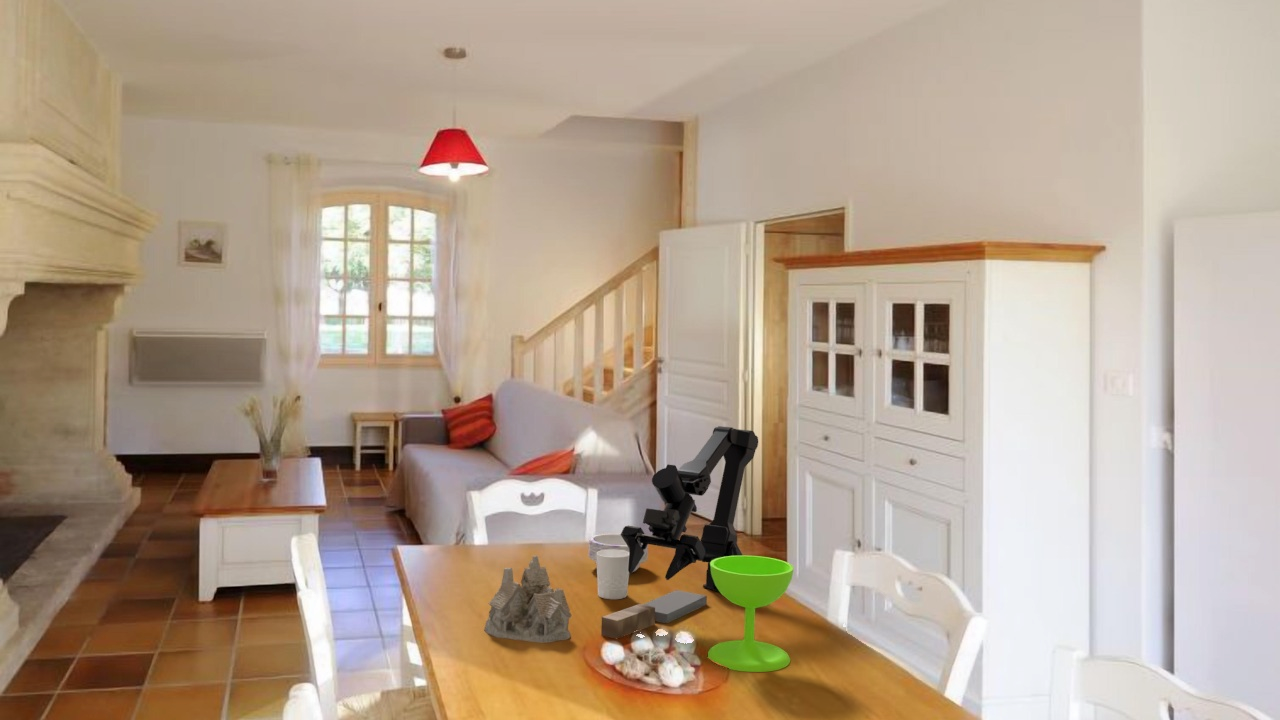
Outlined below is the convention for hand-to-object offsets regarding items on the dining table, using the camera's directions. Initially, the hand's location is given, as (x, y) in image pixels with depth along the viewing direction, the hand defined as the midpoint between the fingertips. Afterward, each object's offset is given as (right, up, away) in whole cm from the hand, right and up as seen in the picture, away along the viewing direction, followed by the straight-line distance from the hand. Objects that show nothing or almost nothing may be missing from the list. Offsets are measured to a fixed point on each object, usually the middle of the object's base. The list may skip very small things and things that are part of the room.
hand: (647, 575), depth 218 cm
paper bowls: (-7, -8, +45) cm, 47 cm away
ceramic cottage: (-25, -10, -8) cm, 28 cm away
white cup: (-8, -9, +20) cm, 24 cm away
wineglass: (+19, -12, -20) cm, 30 cm away
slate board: (+5, -10, +10) cm, 15 cm away
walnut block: (0, -8, 0) cm, 8 cm away
